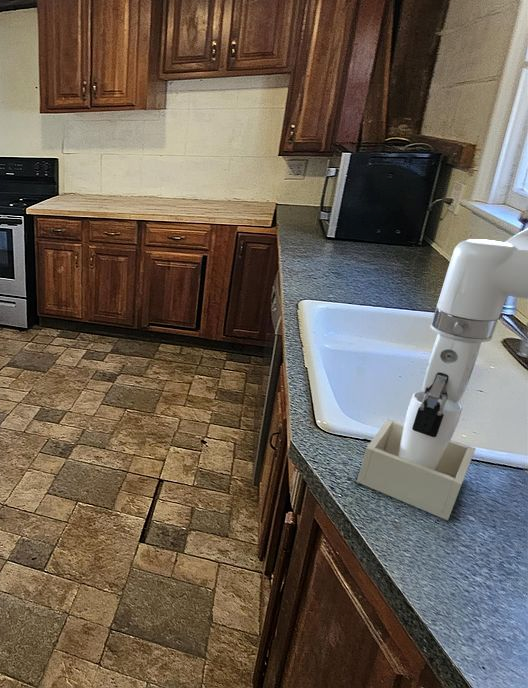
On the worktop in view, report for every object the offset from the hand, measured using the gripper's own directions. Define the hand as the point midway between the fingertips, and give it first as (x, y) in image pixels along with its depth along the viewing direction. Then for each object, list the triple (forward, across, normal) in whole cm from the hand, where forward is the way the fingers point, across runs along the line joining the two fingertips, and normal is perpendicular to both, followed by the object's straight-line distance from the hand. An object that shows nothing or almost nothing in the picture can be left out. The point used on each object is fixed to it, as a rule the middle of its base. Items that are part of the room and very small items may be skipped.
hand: (430, 421), depth 86 cm
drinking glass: (+11, 0, 0) cm, 11 cm away
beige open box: (+12, 0, 0) cm, 12 cm away
